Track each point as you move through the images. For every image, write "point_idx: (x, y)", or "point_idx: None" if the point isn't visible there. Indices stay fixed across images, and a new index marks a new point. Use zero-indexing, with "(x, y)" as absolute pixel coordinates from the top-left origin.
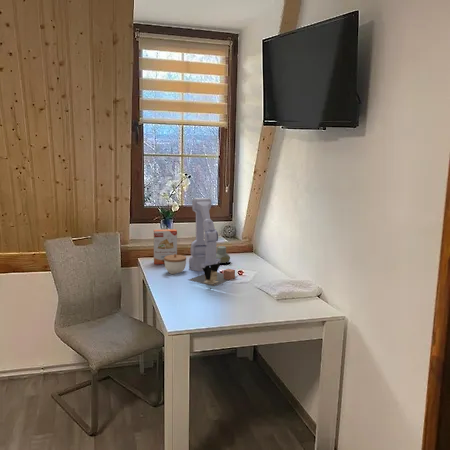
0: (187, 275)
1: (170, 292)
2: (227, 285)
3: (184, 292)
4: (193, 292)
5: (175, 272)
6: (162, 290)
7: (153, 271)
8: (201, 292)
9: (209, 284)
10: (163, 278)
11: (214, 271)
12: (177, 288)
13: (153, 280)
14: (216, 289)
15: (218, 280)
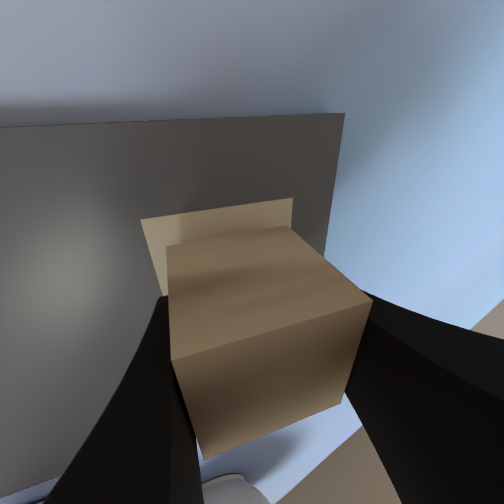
0: (199, 457)
1: (492, 269)
2: (76, 3)
3: (488, 221)
4: (484, 176)
5: (243, 484)
6: (467, 311)
7: None
8: (480, 120)
9: (313, 209)
10: (318, 434)
11: (219, 380)
12: (427, 301)
13: (359, 421)
14: (357, 40)
15: (102, 259)
